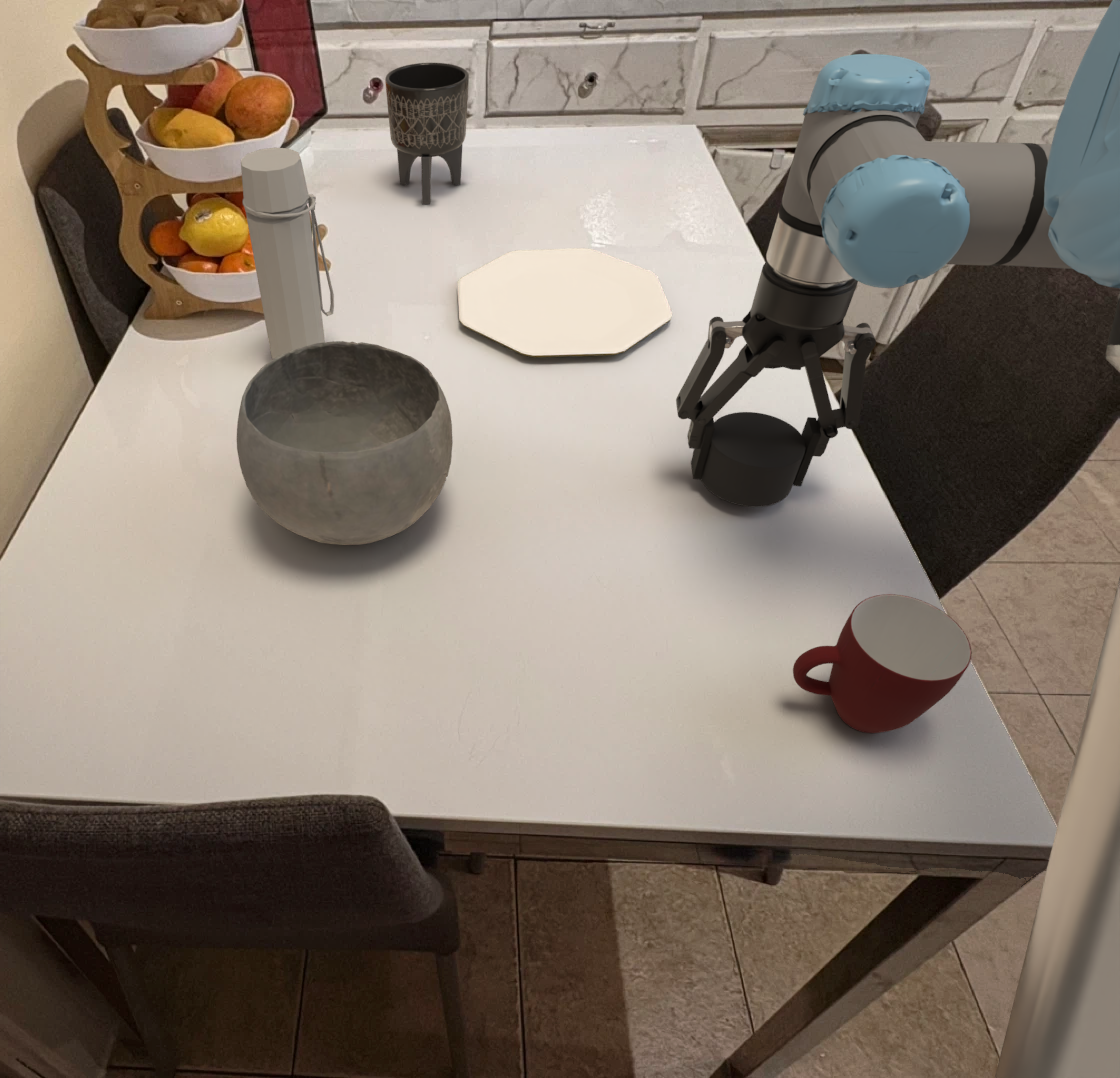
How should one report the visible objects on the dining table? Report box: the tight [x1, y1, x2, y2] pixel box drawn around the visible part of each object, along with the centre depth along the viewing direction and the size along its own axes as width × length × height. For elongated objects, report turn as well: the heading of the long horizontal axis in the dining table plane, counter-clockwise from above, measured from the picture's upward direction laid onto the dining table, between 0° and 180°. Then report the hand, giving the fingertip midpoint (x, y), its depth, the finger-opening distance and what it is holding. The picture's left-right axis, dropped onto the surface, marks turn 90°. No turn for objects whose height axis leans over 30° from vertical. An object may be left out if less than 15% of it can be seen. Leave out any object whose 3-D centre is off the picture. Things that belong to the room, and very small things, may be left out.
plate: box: [456, 247, 673, 358], centre depth 113 cm, size 28×28×2 cm
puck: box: [700, 411, 806, 508], centre depth 84 cm, size 9×9×5 cm
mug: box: [792, 593, 973, 734], centre depth 64 cm, size 10×8×10 cm
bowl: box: [236, 340, 454, 546], centre depth 82 cm, size 20×20×15 cm
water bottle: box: [240, 147, 335, 361], centre depth 99 cm, size 9×8×25 cm
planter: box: [384, 62, 470, 205], centre depth 136 cm, size 13×13×18 cm
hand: (744, 473), depth 86 cm, fingers closed on puck, 9 cm apart
